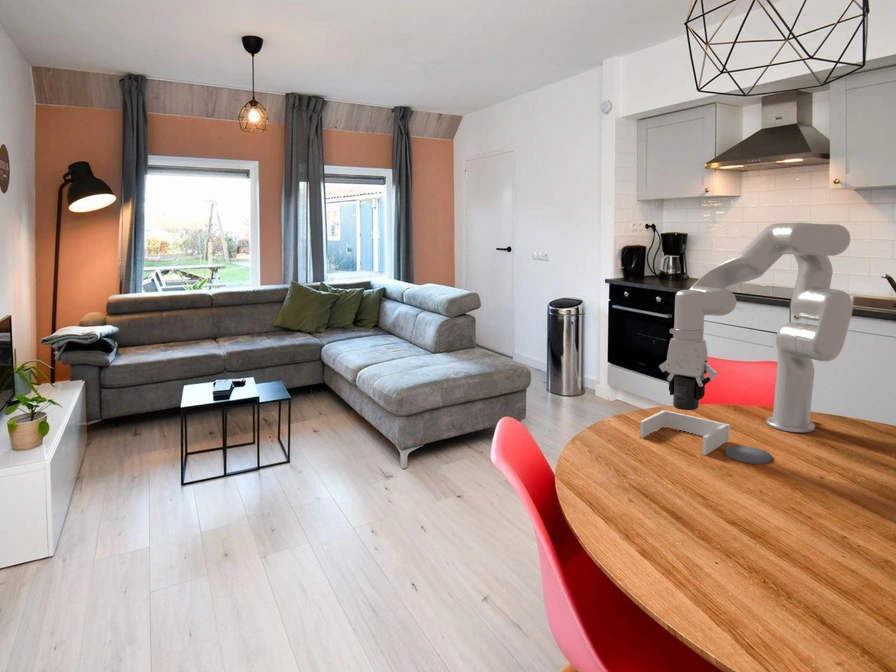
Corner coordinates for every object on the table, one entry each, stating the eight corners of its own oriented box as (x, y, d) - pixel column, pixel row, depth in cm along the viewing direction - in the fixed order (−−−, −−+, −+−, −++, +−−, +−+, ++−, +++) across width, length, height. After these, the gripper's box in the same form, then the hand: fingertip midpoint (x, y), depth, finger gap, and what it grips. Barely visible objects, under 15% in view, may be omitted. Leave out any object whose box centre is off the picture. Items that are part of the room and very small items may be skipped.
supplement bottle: (703, 409, 158) (705, 368, 155) (681, 411, 157) (682, 370, 154) (690, 402, 164) (691, 362, 162) (668, 404, 163) (669, 364, 161)
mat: (734, 444, 158) (734, 442, 158) (777, 455, 150) (777, 453, 150) (718, 455, 150) (718, 453, 150) (763, 467, 142) (763, 465, 142)
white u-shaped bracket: (661, 425, 175) (662, 409, 174) (728, 441, 160) (730, 424, 159) (637, 437, 165) (638, 420, 164) (707, 455, 150) (708, 437, 150)
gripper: (652, 333, 160) (650, 393, 164) (715, 340, 148) (711, 405, 151) (664, 329, 165) (663, 388, 169) (726, 335, 153) (723, 399, 156)
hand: (686, 396), depth 160 cm, fingers closed on supplement bottle, 6 cm apart
